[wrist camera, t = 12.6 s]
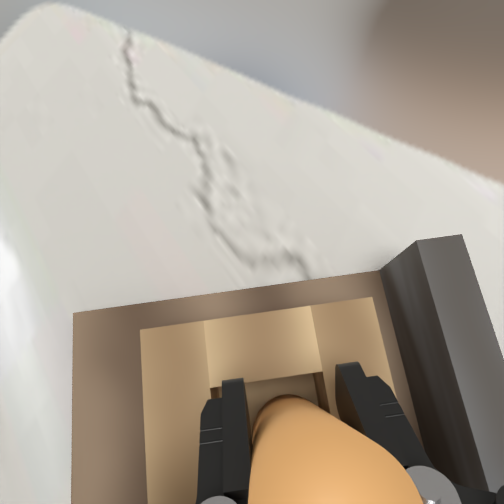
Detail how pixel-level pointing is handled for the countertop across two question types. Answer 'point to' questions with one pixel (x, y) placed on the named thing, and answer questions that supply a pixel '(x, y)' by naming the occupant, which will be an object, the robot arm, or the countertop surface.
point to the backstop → (299, 295)
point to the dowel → (320, 460)
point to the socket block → (244, 375)
